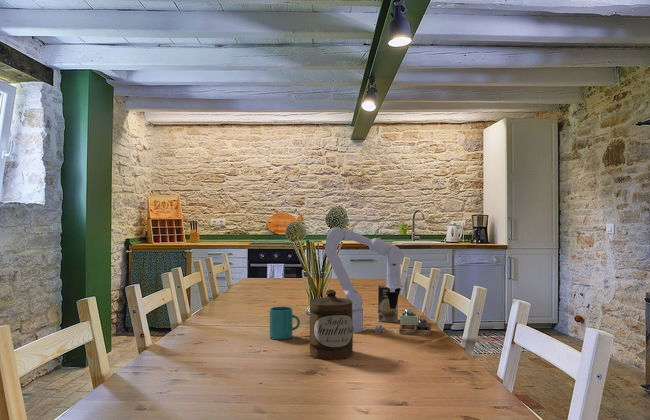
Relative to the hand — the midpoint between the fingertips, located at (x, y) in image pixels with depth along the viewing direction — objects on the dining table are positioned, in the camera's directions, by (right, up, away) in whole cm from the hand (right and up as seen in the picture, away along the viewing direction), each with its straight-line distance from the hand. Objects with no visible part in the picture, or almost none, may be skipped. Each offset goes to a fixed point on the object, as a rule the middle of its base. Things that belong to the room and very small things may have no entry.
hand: (393, 307), depth 192 cm
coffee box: (0, -11, +17) cm, 20 cm away
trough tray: (+8, -10, -5) cm, 14 cm away
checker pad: (-3, -10, -3) cm, 11 cm away
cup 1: (-44, -10, -11) cm, 47 cm away
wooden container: (-26, -9, -33) cm, 43 cm away
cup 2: (+8, -10, +8) cm, 15 cm away
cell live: (+11, -9, -6) cm, 15 cm away
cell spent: (+8, -10, +8) cm, 15 cm away
